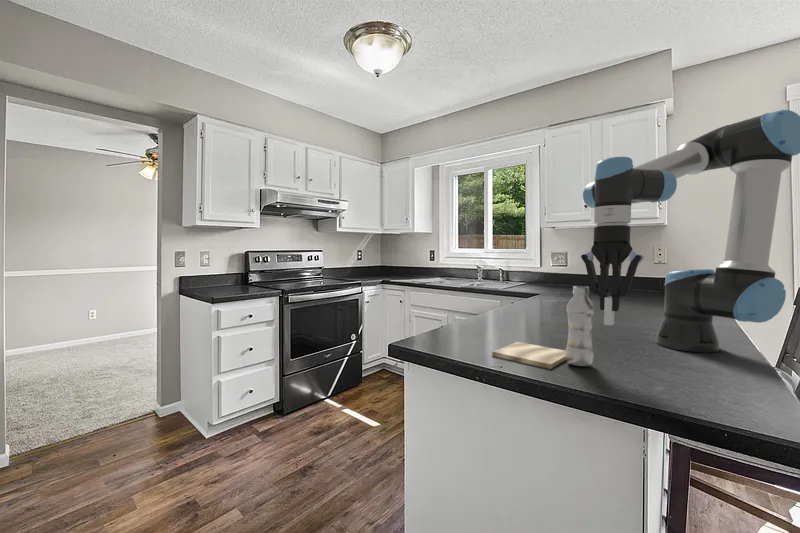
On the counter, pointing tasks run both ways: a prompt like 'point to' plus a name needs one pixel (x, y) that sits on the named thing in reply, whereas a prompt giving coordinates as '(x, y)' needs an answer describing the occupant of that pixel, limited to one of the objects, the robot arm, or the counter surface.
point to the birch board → (531, 354)
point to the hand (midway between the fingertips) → (608, 324)
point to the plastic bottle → (580, 328)
